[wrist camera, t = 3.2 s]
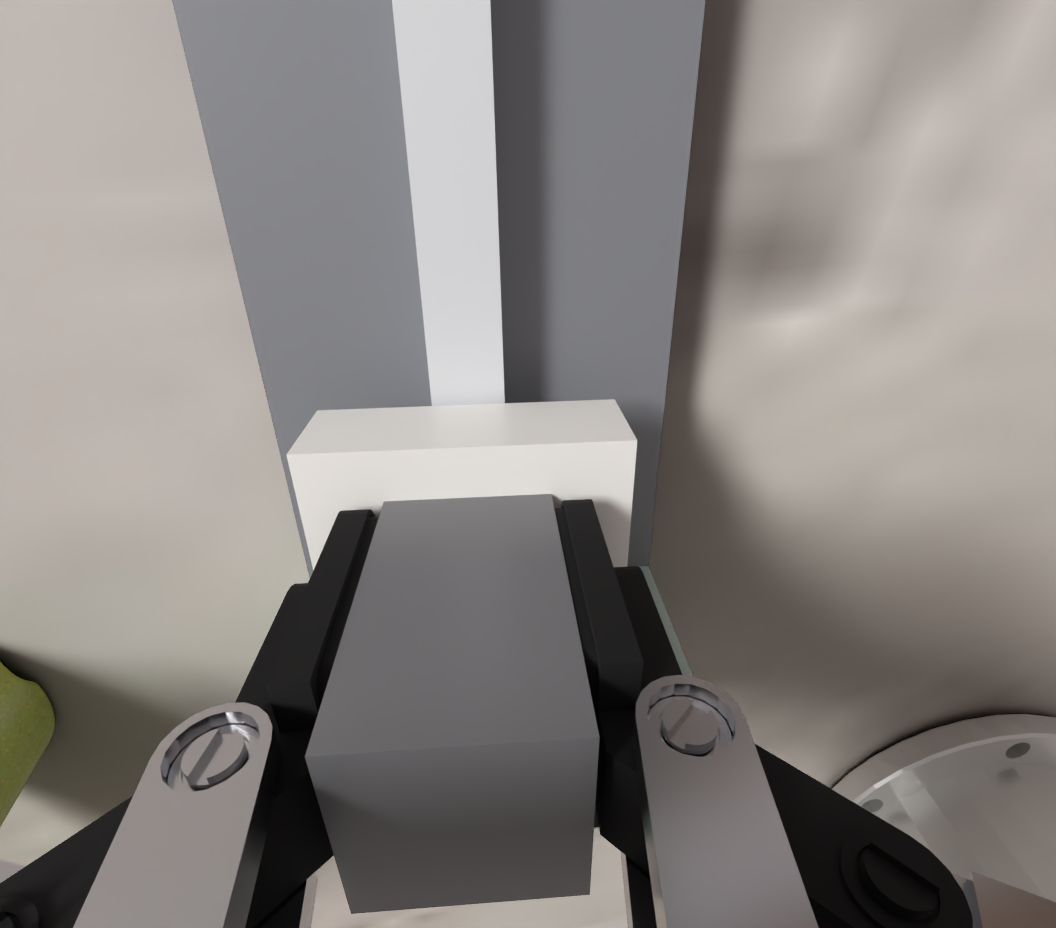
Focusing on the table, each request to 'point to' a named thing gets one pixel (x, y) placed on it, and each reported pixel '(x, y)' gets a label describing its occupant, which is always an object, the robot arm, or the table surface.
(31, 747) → the plant pot
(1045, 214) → the table surface
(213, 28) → the rail track
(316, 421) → the carriage
